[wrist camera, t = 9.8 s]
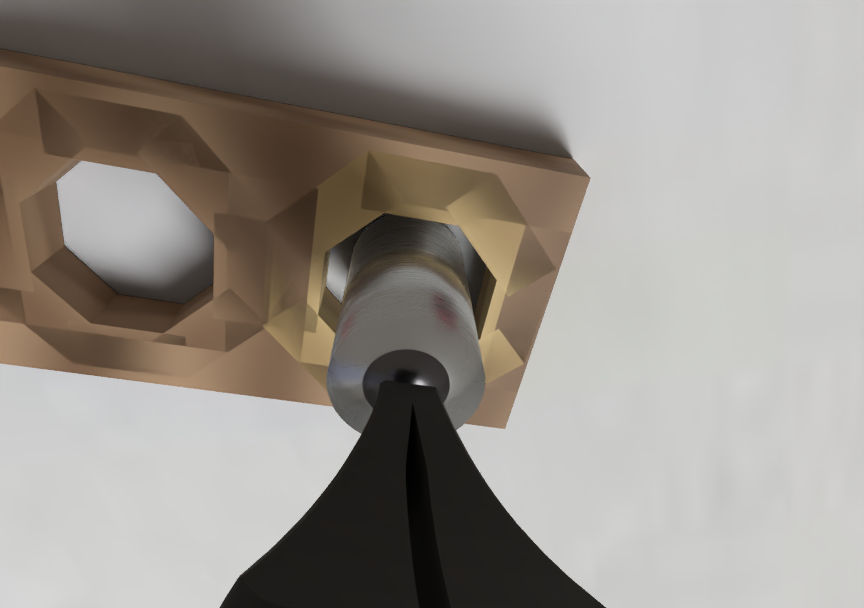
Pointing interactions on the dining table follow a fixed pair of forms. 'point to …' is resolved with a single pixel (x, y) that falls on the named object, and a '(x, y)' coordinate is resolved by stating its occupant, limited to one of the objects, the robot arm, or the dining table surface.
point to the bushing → (405, 321)
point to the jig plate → (256, 230)
